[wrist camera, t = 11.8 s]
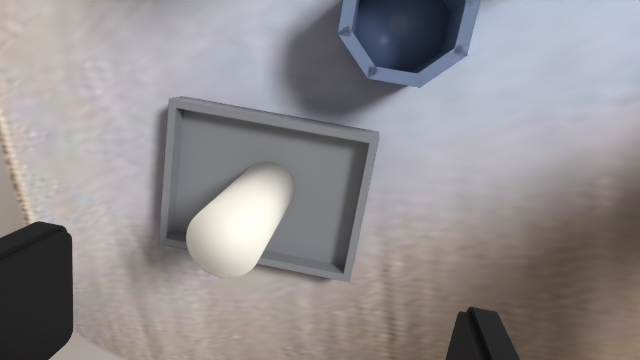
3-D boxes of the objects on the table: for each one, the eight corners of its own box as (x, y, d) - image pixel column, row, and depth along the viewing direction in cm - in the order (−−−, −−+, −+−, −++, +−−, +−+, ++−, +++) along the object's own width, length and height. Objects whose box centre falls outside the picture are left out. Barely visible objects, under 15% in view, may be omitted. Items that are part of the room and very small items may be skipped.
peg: (298, 167, 34) (267, 215, 24) (289, 218, 36) (255, 285, 25) (245, 156, 35) (190, 198, 24) (237, 207, 36) (182, 268, 25)
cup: (468, -25, 31) (492, -47, 25) (441, 89, 33) (457, 94, 27) (356, -43, 31) (354, -68, 25) (336, 71, 33) (330, 72, 27)
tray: (378, 131, 34) (379, 136, 32) (350, 268, 37) (349, 282, 35) (182, 96, 35) (169, 98, 33) (171, 232, 38) (158, 243, 36)
